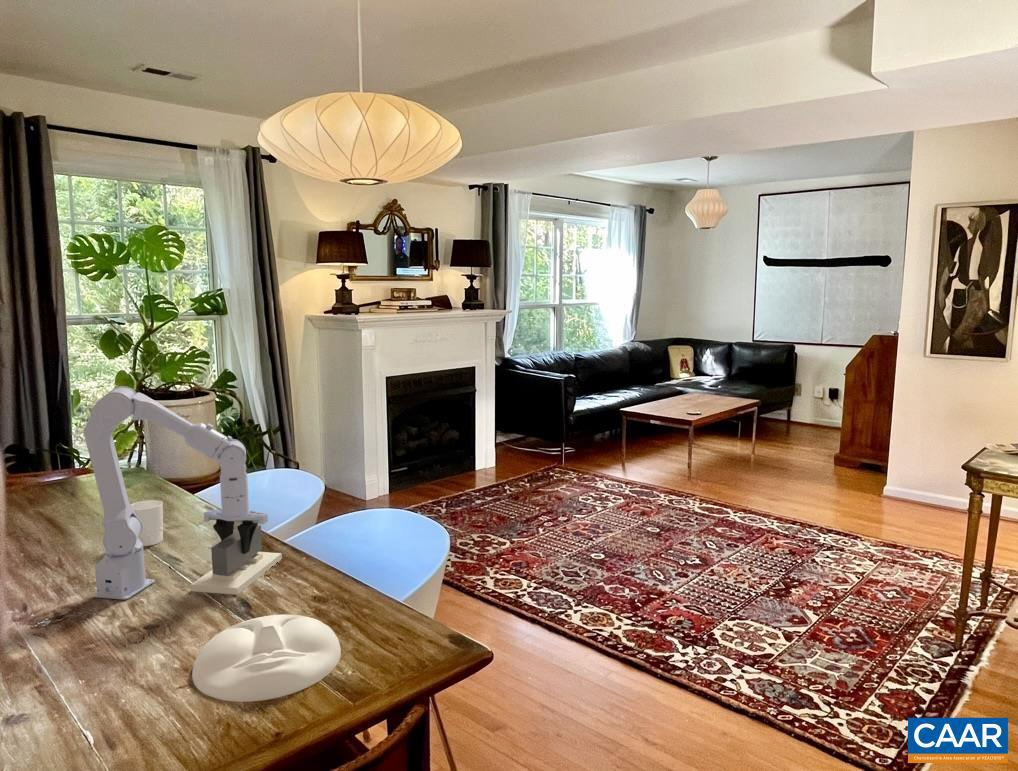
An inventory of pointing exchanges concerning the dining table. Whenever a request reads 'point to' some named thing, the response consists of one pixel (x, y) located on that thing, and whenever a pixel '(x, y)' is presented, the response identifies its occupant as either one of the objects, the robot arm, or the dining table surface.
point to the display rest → (237, 575)
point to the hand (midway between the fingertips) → (237, 551)
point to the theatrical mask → (266, 658)
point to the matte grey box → (233, 552)
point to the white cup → (150, 521)
